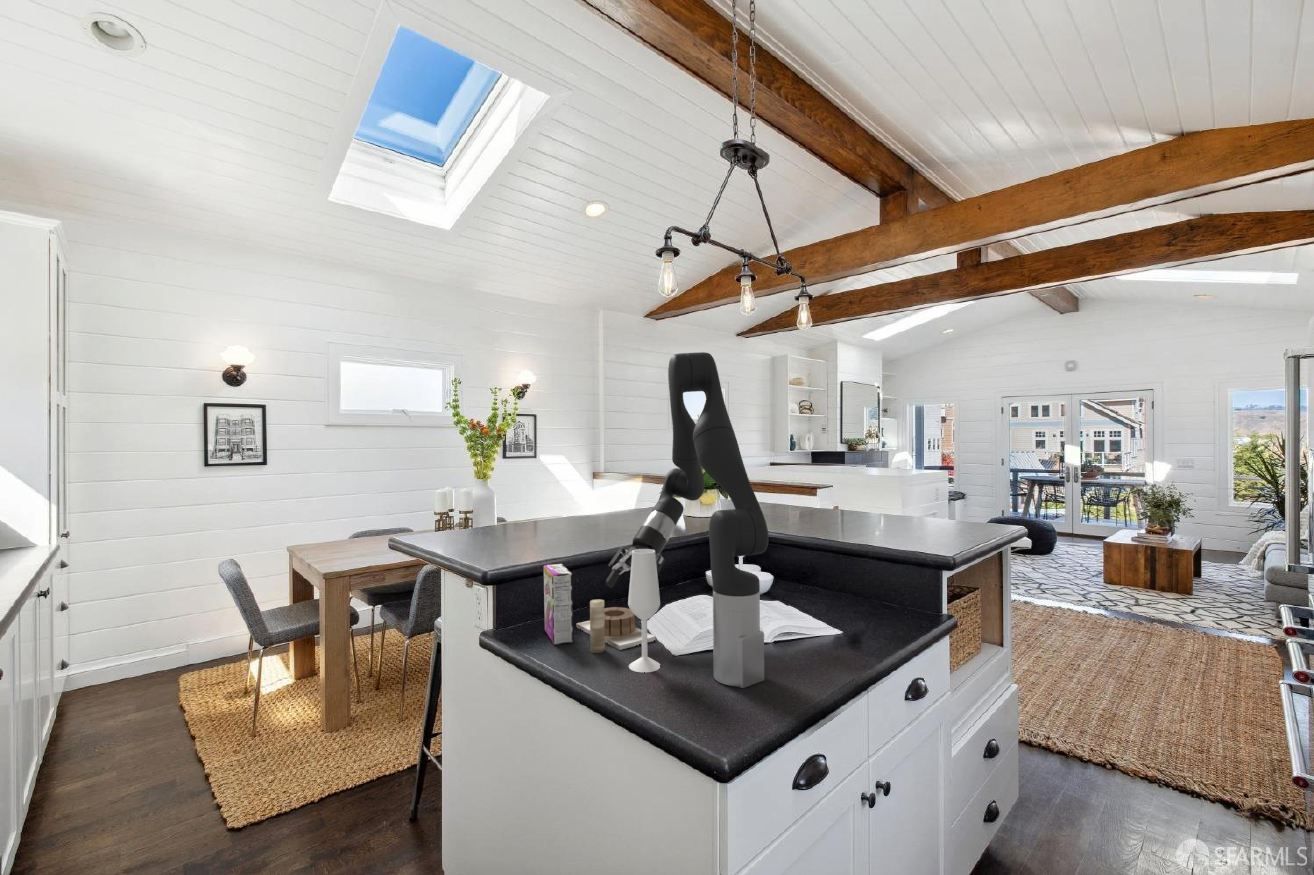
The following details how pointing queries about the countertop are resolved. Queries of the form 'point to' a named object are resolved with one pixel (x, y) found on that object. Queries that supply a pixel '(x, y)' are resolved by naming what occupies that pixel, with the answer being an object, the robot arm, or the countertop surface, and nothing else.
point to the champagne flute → (644, 600)
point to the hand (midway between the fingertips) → (620, 588)
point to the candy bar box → (558, 603)
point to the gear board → (619, 628)
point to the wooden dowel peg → (597, 626)
